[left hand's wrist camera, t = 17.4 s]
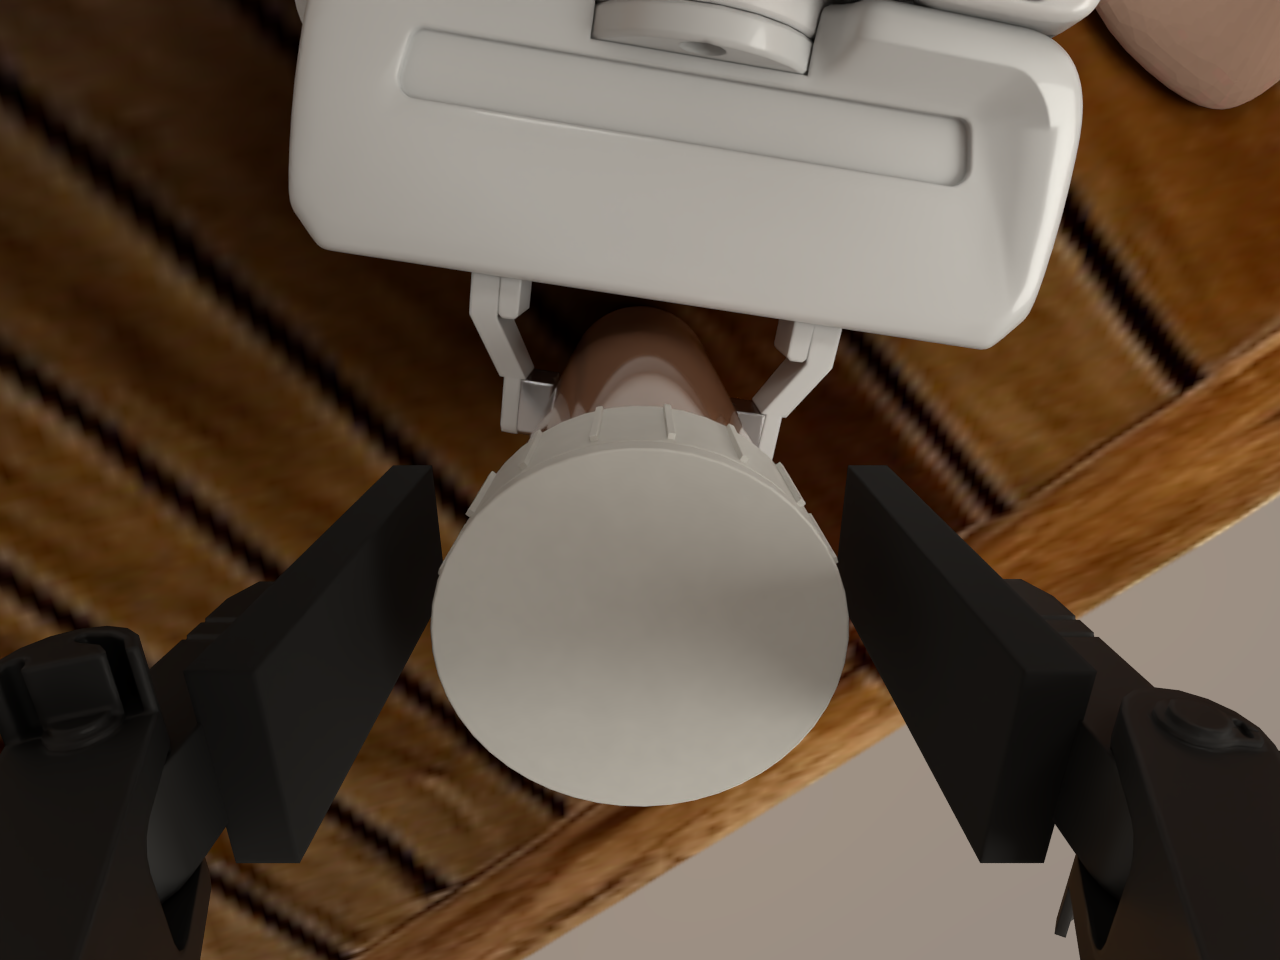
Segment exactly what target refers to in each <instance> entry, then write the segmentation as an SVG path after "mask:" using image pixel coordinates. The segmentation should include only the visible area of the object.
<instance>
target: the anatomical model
mask: <svg viewBox="0 0 1280 960" xmlns="http://www.w3.org/2000/svg"><path fill="white" fill-rule="evenodd" d="M1095 9H1096V10H1097V12H1098V14H1099V15H1100V17H1101V18H1102V20H1103V22H1104V23H1105V25H1106V26H1107V28H1108V30H1109V31H1110V32H1111V33H1112V35H1113V36H1114V37H1115V38H1116V39H1117V41H1118V42H1119V43H1120V44H1121V45H1122V47H1123V48H1124V49H1125V50H1126V51H1127V52H1128V53H1129V54H1130V55H1131V56H1132V57H1133V58H1134V59H1135V60H1136V61H1137V62H1138V63H1139V64H1140V65H1141V66H1142V67H1143V68H1144V69H1145V70H1146V71H1148V72H1149V73H1150V74H1151V75H1153V76H1154V77H1155V78H1156V79H1158V80H1159V81H1160V82H1161V83H1163V84H1164V85H1165V86H1166V87H1168V88H1169V89H1171V90H1172V91H1174V92H1175V93H1177V94H1178V95H1180V96H1182V97H1183V98H1185V99H1186V100H1188V101H1191V102H1193V103H1195V104H1197V105H1199V106H1203V107H1207V108H1211V109H1228V108H1232V107H1236V106H1239V105H1241V104H1243V103H1245V102H1248V101H1250V100H1252V99H1253V98H1255V97H1257V96H1258V95H1260V94H1262V93H1263V92H1265V91H1266V90H1267V89H1269V88H1270V87H1271V86H1273V85H1274V84H1275V83H1277V82H1278V81H1279V80H1280V0H1100V2H1099V3H1098V5H1097V6H1096V7H1095Z"/></svg>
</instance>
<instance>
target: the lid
mask: <svg viewBox="0 0 1280 960" xmlns="http://www.w3.org/2000/svg"><path fill="white" fill-rule="evenodd" d="M805 504H806V503H805V502H804V500H803V498H802V497H801V495H800V493H799V491H798V490H797V488H796V486H795V485H794V483H793V481H792V480H791V478H790V476H789V475H788V473H787V471H786V470H785V468H784V466H783V465H782V464H781V463H780V462H779V463H778V464H775V463H774V462H773V461H772V460H771V459H770V458H769V457H768V456H767V455H766V454H765V453H764V452H763V451H761V450H760V449H759V448H758V447H757V446H755V445H754V444H753V443H752V442H751V441H749V440H748V439H746V438H745V437H743V436H741V435H740V434H738V433H737V431H736V429H735V427H734V426H733V425H731V424H728V425H727V427H726V426H724V425H722V424H720V423H717V422H715V421H713V420H711V419H708V418H706V417H703V416H699V415H696V414H693V413H689V412H686V411H682V410H676V409H671V405H669V404H664V407H654V406H627V407H616V408H608V409H603V406H599V407H596V410H595V412H590V413H586V414H583V415H580V416H577V417H575V418H572V419H569V420H566V421H564V422H561V423H559V424H558V425H556V426H554V427H552V428H550V429H548V430H546V431H544V432H541V430H538V431H536V432H535V433H534V435H533V437H532V439H531V441H529V442H528V443H527V444H525V445H524V446H522V447H521V448H520V449H519V450H518V451H517V452H516V453H515V454H514V455H513V456H512V457H511V458H510V459H509V460H507V461H506V462H505V464H504V465H503V466H502V467H501V469H500V470H499V471H498V472H497V474H496V473H495V472H493V471H492V472H491V473H490V474H489V476H488V478H487V479H486V481H485V482H484V484H483V486H482V487H481V489H480V491H479V492H478V494H477V496H476V497H475V499H474V501H473V502H472V504H471V506H470V507H469V509H468V511H467V512H466V515H467V516H469V517H470V518H469V519H468V521H467V523H466V524H465V525H464V527H463V529H462V530H461V532H460V534H459V536H458V537H457V539H456V541H455V542H454V544H453V546H452V548H451V549H450V551H449V553H448V554H447V556H446V558H445V560H444V561H443V563H442V565H441V566H440V568H439V571H438V575H439V578H438V580H437V584H436V589H435V593H434V598H433V602H432V613H431V639H432V651H433V655H434V659H435V663H436V668H437V672H438V675H439V678H440V680H441V683H442V685H443V688H444V690H445V693H446V695H447V697H448V699H449V701H450V703H451V704H452V706H453V708H454V710H455V711H456V713H457V715H458V716H459V718H460V719H461V720H462V722H463V723H464V724H465V726H466V727H467V728H468V729H469V731H470V732H471V733H472V735H473V736H474V737H475V738H476V739H477V740H478V741H479V742H480V743H481V744H482V745H483V746H484V747H485V748H486V749H487V750H488V751H489V752H490V753H492V754H493V755H494V756H496V757H497V758H498V759H499V760H501V761H502V762H503V763H504V764H506V765H507V766H508V767H510V768H512V769H513V770H515V771H516V772H518V773H520V774H521V775H523V776H525V777H526V778H528V779H530V780H532V781H534V782H536V783H538V784H540V785H543V786H545V787H547V788H549V789H551V790H554V791H557V792H560V793H563V794H566V795H569V796H572V797H575V798H579V799H584V800H588V801H592V802H597V803H604V804H612V805H620V806H656V805H669V804H676V803H681V802H687V801H692V800H697V799H700V798H704V797H707V796H711V795H714V794H717V793H720V792H723V791H725V790H727V789H730V788H732V787H735V786H737V785H740V784H742V783H744V782H745V781H747V780H749V779H751V778H753V777H755V776H757V775H758V774H760V773H762V772H763V771H765V770H766V769H768V768H769V767H771V766H772V765H774V764H775V763H776V762H778V761H779V760H781V759H782V758H783V757H784V756H785V755H786V754H788V753H789V752H790V751H791V750H792V749H793V748H794V747H795V746H797V745H798V744H799V743H800V742H801V740H802V739H803V738H804V737H805V736H806V735H807V734H808V732H809V731H810V730H811V729H812V728H813V727H814V726H815V724H816V723H817V721H818V720H819V718H820V717H821V715H822V714H823V712H824V711H825V709H826V708H827V706H828V704H829V702H830V700H831V698H832V696H833V694H834V691H835V689H836V687H837V685H838V682H839V679H840V676H841V673H842V669H843V666H844V663H845V657H846V651H847V645H848V631H849V615H848V608H847V601H846V594H845V590H844V587H843V583H842V580H841V577H840V574H839V570H838V568H837V566H836V564H835V563H838V559H837V557H836V555H835V553H834V552H833V550H832V548H831V546H830V545H829V543H828V541H827V540H826V538H825V536H824V535H823V533H822V531H821V530H820V528H819V526H818V524H817V523H816V521H815V519H814V518H813V516H812V514H811V513H810V514H808V512H807V511H806V509H805V507H804V505H805Z"/></svg>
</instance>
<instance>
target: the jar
mask: <svg viewBox="0 0 1280 960" xmlns="http://www.w3.org/2000/svg"><path fill="white" fill-rule="evenodd" d="M664 404H669V405H671V409H676V410H682V411H686V412H689V413H693V414H696V415H699V416H703V417H706V418H708V419H711V420H713V421H715V422H717V423H720V424H722V425H724V426H726V427H727V425H728V424H731V425H733V426H734V427H735V429H736V431H737V433H738V434H740V435H741V436H743V437H745V438H746V439H748V440H749V441H751V442H752V440H751V438H750V436H749V434H748V432H747V430H746V428H745V426H744V424H743V423H742V421H741V419H740V417H739V415H738V413H737V411H736V409H735V407H734V405H733V403H732V401H731V399H730V397H729V395H728V393H727V392H726V390H725V388H724V386H723V384H722V382H721V380H720V378H719V376H718V374H717V372H716V370H715V368H714V366H713V364H712V362H711V360H710V359H709V357H708V355H707V353H706V351H705V349H704V347H703V345H702V343H701V341H700V340H699V338H698V337H697V335H696V334H695V333H694V331H693V330H692V329H691V328H690V327H689V326H688V325H687V324H686V323H685V322H683V321H682V320H681V319H679V318H678V317H676V316H675V315H673V314H671V313H669V312H666V311H664V310H661V309H657V308H652V307H644V306H636V307H628V308H622V309H619V310H616V311H613V312H611V313H609V314H607V315H605V316H604V317H602V318H601V319H599V320H598V321H596V322H595V323H594V324H593V325H592V326H591V327H590V328H589V329H588V330H587V331H586V332H585V334H584V335H583V337H582V338H581V340H580V341H579V343H578V345H577V347H576V349H575V351H574V353H573V354H572V356H571V358H570V360H569V362H568V364H567V366H566V368H565V370H564V372H563V374H562V376H561V378H560V380H559V382H558V383H557V385H556V387H555V389H554V391H553V393H552V395H551V397H550V399H549V401H548V403H547V405H546V407H545V409H544V411H543V412H542V414H541V416H540V418H539V420H538V422H537V424H536V426H535V428H534V430H533V432H532V434H531V436H530V438H529V439H528V441H527V443H528V442H529V441H531V439H532V437H533V435H534V433H535V432H536V431H538V430H541V432H544V431H546V430H548V429H550V428H552V427H554V426H556V425H558V424H559V423H561V422H564V421H566V420H569V419H572V418H575V417H577V416H580V415H583V414H586V413H590V412H595V410H596V407H599V406H603V409H608V408H616V407H627V406H654V407H664ZM527 443H526V444H527ZM752 443H753V442H752Z"/></svg>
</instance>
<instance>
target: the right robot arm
mask: <svg viewBox="0 0 1280 960" xmlns="http://www.w3.org/2000/svg"><path fill="white" fill-rule="evenodd" d="M1099 2H1100V0H295V3H296V7H297V11H298V15H299V18H300V21H301V24H302V30H301V36H300V43H299V51H298V58H297V66H296V74H295V82H294V93H293V103H292V114H291V129H290V146H289V197H290V203H291V206H292V208H293V210H294V212H295V214H296V215H297V217H298V218H299V219H300V221H301V222H302V224H303V225H304V227H305V228H306V230H307V231H308V233H309V234H310V236H311V237H312V238H313V239H314V241H315V242H316V243H317V245H319V246H320V247H321V248H323V249H326V250H330V251H336V252H343V253H349V254H356V255H362V256H369V257H375V258H382V259H389V260H395V261H402V262H408V263H415V264H421V265H428V266H435V267H441V268H448V269H454V270H461V271H467V272H472V275H471V292H470V309H469V314H470V316H471V318H472V320H473V322H474V324H475V326H476V329H477V331H478V333H479V335H480V337H481V339H482V341H483V343H484V345H485V347H486V349H487V351H488V353H489V355H490V357H491V359H492V361H493V363H494V365H495V367H496V369H497V371H498V373H499V375H500V376H502V377H504V385H503V398H502V411H501V431H504V432H509V433H515V434H517V433H518V434H526V435H531V434H532V432H533V430H534V428H535V426H536V424H537V422H538V420H539V418H540V416H541V414H542V412H543V411H544V409H545V407H546V405H547V403H548V401H549V399H550V397H551V395H552V393H553V391H554V389H555V387H556V385H557V383H558V382H559V373H557V372H551V371H545V370H539V369H534V368H535V367H534V365H533V363H532V360H531V358H530V356H529V353H528V351H527V349H526V346H525V344H524V342H523V339H522V337H521V335H520V332H519V330H518V328H517V325H516V323H515V321H514V319H515V318H517V317H518V316H519V315H521V314H522V313H523V312H525V311H526V310H527V309H529V305H530V295H531V285H532V281H533V282H540V283H546V284H553V285H559V286H566V287H573V288H579V289H586V290H592V291H599V292H605V293H612V294H619V295H625V296H632V297H638V298H645V299H651V300H658V301H665V302H671V303H678V304H684V305H691V306H697V307H704V308H711V309H717V310H724V311H730V312H737V313H743V314H750V315H757V316H763V317H770V318H776V319H779V322H778V327H777V332H776V337H775V342H774V345H775V347H776V349H778V350H779V351H780V352H781V353H782V354H783V355H784V356H785V357H787V358H786V359H785V360H784V361H783V362H782V364H781V365H780V366H779V367H778V368H777V370H776V371H775V372H774V373H773V374H772V376H771V377H770V378H769V379H768V380H767V382H766V383H765V384H764V385H763V386H762V388H761V389H760V390H759V391H758V392H757V394H756V395H755V396H754V397H753V398H752V400H745V399H737V398H730V399H731V401H732V403H733V405H734V407H735V409H736V411H737V413H738V415H739V417H740V419H741V421H742V423H743V424H744V426H745V428H746V430H747V432H748V434H749V436H750V438H751V440H752V442H753V444H754V445H755V446H757V447H758V448H759V449H760V450H761V451H763V452H764V453H765V454H766V455H767V456H768V457H769V458H770V459H771V460H772V458H773V454H774V449H775V445H776V441H777V436H778V432H779V428H780V423H781V419H782V417H785V418H786V417H787V416H788V415H789V414H790V413H791V412H792V411H793V410H794V409H795V407H796V406H797V405H798V404H799V403H800V402H801V401H802V400H803V399H804V398H805V397H806V396H807V395H808V394H809V393H810V391H811V390H812V389H813V388H814V387H815V386H816V385H817V384H818V383H819V382H820V381H821V380H822V379H823V378H824V376H825V375H826V374H827V373H828V372H829V371H830V370H831V369H832V367H833V363H834V359H835V355H836V351H837V347H838V343H839V339H840V335H841V331H842V329H849V330H855V331H862V332H868V333H875V334H881V335H888V336H895V337H901V338H908V339H914V340H921V341H927V342H934V343H941V344H947V345H954V346H961V347H967V348H974V349H987V348H990V347H992V346H993V345H994V344H996V343H997V342H999V341H1000V340H1001V339H1002V338H1004V337H1005V336H1006V335H1007V334H1008V333H1009V332H1011V331H1012V330H1013V329H1014V328H1015V327H1016V326H1018V325H1019V324H1020V323H1021V322H1022V321H1023V320H1024V319H1025V318H1026V316H1027V315H1028V314H1029V312H1030V310H1031V308H1032V306H1033V304H1034V302H1035V299H1036V297H1037V294H1038V291H1039V289H1040V286H1041V283H1042V280H1043V277H1044V274H1045V271H1046V268H1047V265H1048V261H1049V258H1050V255H1051V252H1052V249H1053V245H1054V242H1055V239H1056V235H1057V231H1058V228H1059V224H1060V221H1061V217H1062V213H1063V209H1064V205H1065V201H1066V197H1067V193H1068V189H1069V185H1070V181H1071V177H1072V172H1073V168H1074V163H1075V159H1076V154H1077V149H1078V144H1079V139H1080V132H1081V125H1082V110H1083V102H1082V90H1081V84H1080V80H1079V76H1078V73H1077V70H1076V67H1075V65H1074V63H1073V61H1072V60H1071V58H1070V57H1069V55H1068V54H1067V52H1066V51H1065V50H1064V49H1063V48H1062V47H1061V46H1060V45H1059V44H1058V43H1057V42H1055V41H1054V40H1052V39H1051V38H1052V37H1054V36H1056V35H1058V34H1059V33H1061V32H1063V31H1065V30H1066V29H1068V28H1069V27H1071V26H1073V25H1074V24H1076V23H1077V22H1079V21H1080V20H1082V19H1083V18H1085V17H1086V16H1088V15H1089V14H1090V13H1091V12H1092V11H1093V10H1094V9H1095V7H1096V6H1097V5H1098V3H1099Z"/></svg>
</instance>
